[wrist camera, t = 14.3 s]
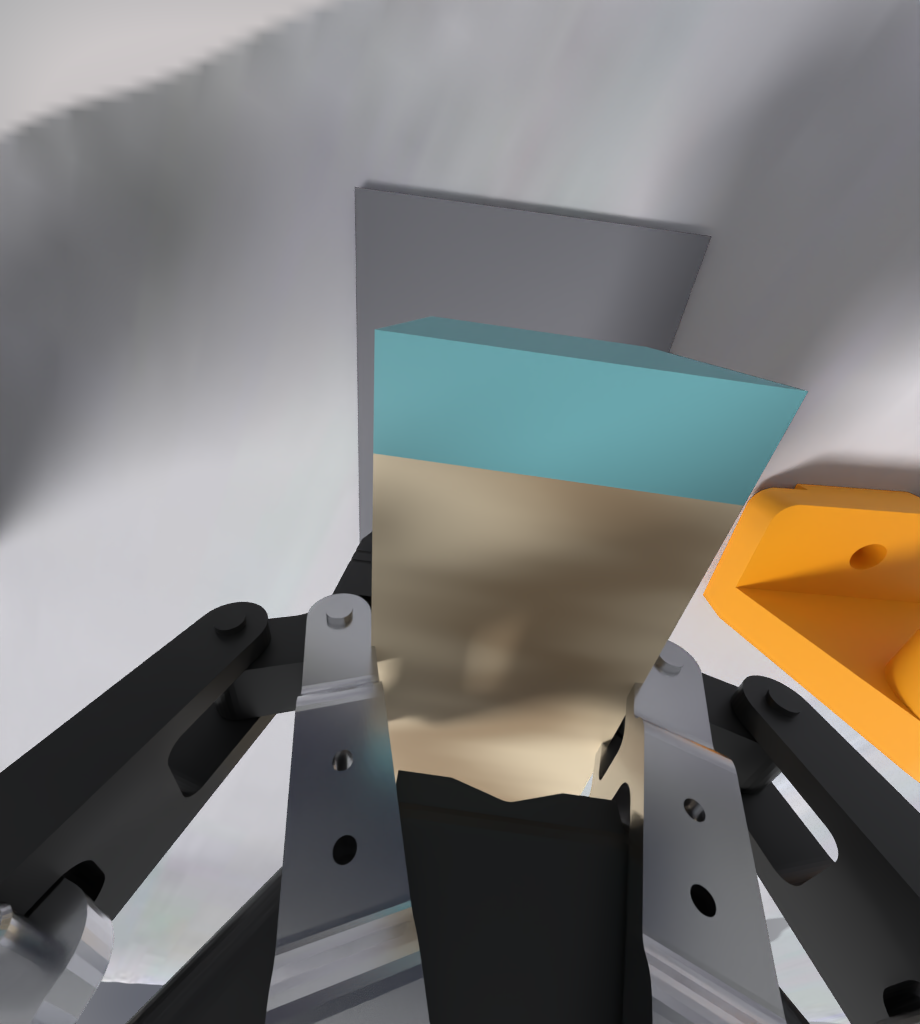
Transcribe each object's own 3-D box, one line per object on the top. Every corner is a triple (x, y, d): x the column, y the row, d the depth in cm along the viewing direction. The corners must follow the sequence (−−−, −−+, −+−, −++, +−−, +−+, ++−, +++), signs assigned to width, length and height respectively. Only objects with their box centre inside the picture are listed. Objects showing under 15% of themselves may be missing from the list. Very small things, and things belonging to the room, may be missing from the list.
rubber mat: (572, 608, 25) (573, 612, 24) (362, 578, 25) (360, 582, 24) (706, 237, 15) (711, 236, 15) (358, 189, 15) (354, 187, 15)
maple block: (368, 850, 11) (374, 328, 4) (402, 696, 15) (431, 316, 9) (535, 873, 11) (807, 391, 4) (522, 713, 16) (647, 346, 9)
